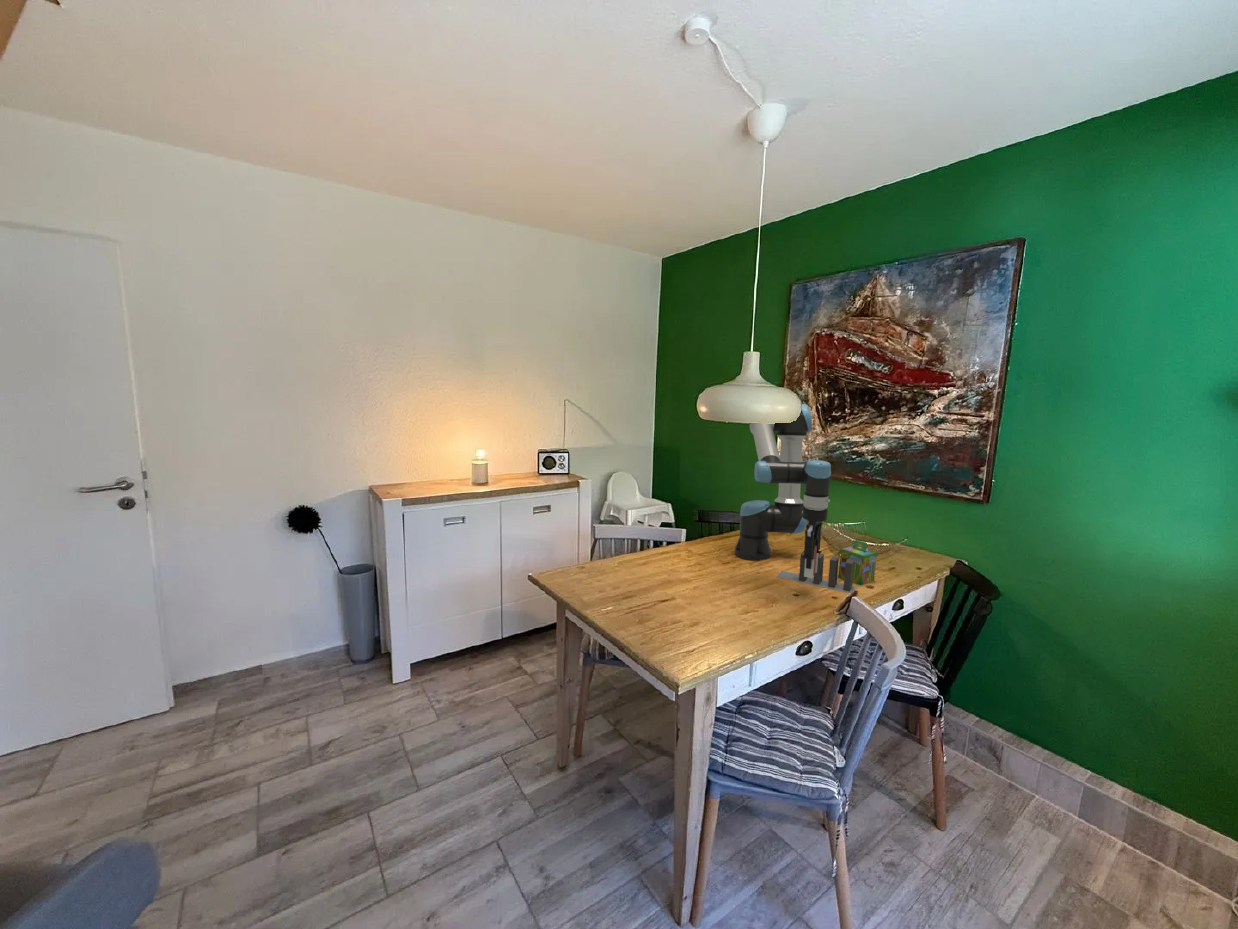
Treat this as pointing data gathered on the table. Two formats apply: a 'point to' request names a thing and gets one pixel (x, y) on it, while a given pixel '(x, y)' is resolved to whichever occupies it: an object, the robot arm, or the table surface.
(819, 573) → the domino
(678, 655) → the table surface
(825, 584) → the mat
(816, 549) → the domino
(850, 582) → the domino
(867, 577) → the chalk box
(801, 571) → the domino
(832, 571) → the domino
